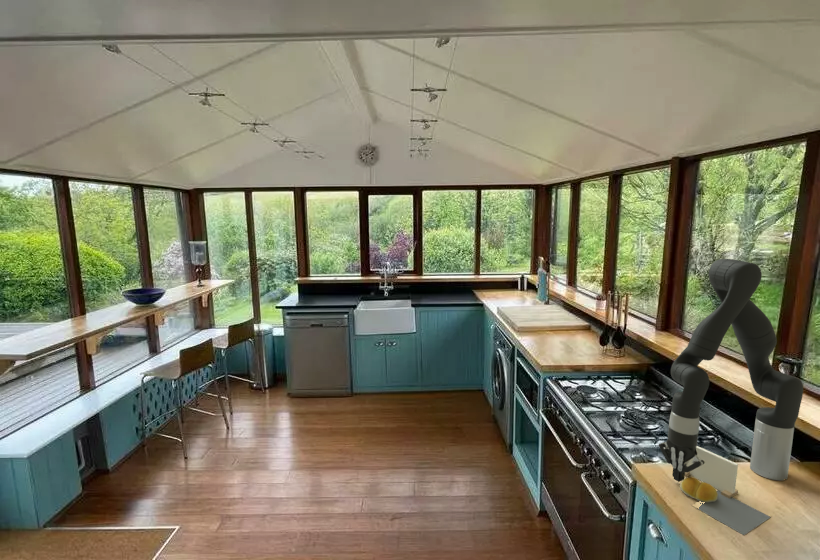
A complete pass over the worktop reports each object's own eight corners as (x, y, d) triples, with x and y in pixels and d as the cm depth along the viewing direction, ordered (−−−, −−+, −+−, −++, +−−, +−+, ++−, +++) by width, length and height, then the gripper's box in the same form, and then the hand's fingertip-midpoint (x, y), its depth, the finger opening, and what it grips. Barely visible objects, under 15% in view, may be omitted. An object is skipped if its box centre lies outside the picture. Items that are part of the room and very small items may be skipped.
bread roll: (713, 508, 119) (714, 494, 118) (677, 493, 125) (678, 480, 125) (721, 495, 124) (722, 482, 123) (686, 481, 131) (687, 469, 130)
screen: (688, 468, 137) (691, 440, 136) (737, 493, 125) (741, 462, 123) (679, 473, 135) (682, 444, 134) (728, 498, 123) (732, 467, 121)
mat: (718, 490, 126) (718, 489, 126) (770, 517, 115) (770, 516, 115) (691, 505, 120) (691, 504, 120) (743, 535, 109) (743, 534, 109)
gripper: (714, 434, 123) (707, 488, 126) (669, 415, 135) (664, 465, 137) (699, 440, 120) (693, 496, 122) (654, 420, 131) (649, 471, 134)
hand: (677, 479), depth 130 cm, fingers closed
